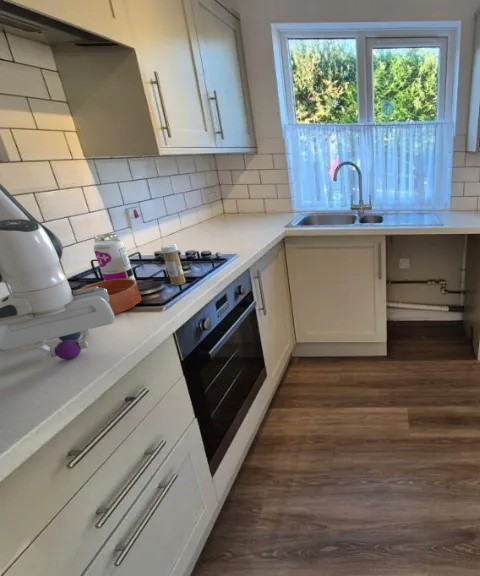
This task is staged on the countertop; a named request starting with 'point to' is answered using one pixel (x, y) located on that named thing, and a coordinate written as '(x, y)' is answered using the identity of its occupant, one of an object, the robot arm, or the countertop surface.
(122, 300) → the bowl
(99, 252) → the supplement can
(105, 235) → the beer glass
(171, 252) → the sprinkles bottle
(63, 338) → the slate ball
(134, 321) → the countertop surface
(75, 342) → the plum ball
